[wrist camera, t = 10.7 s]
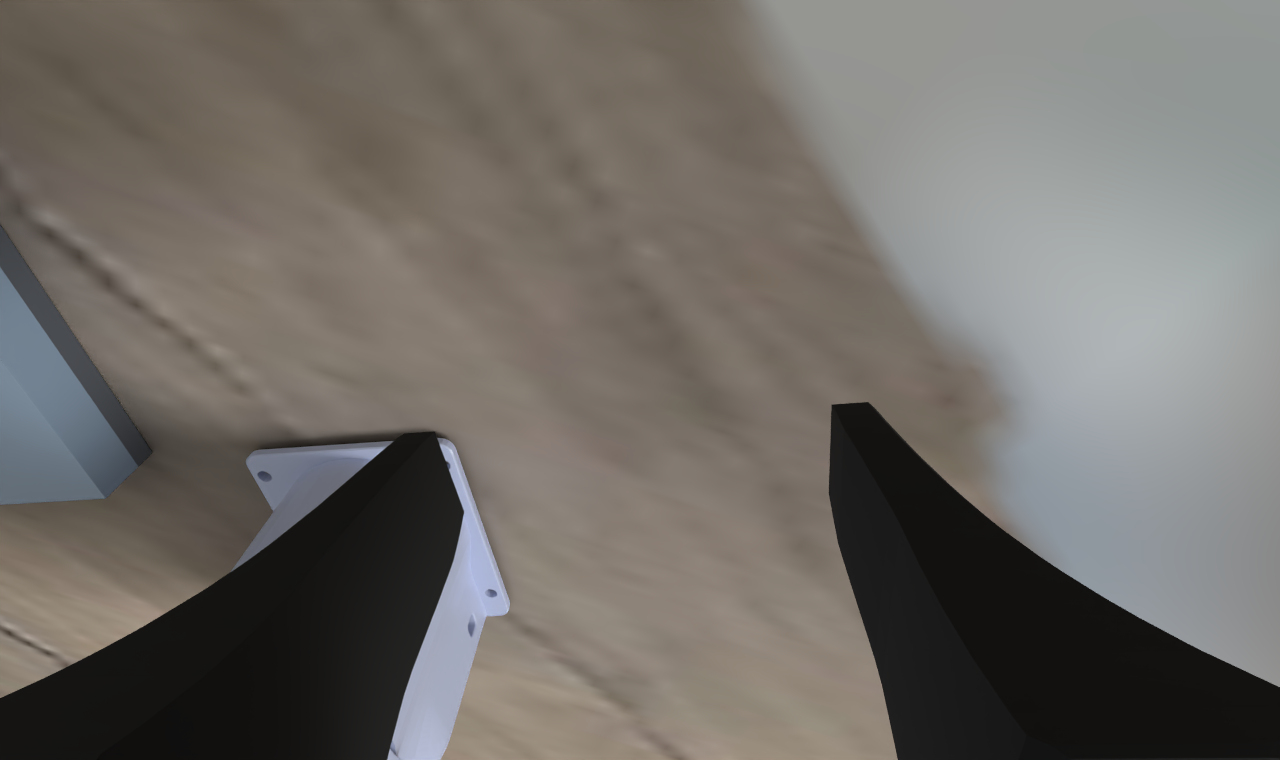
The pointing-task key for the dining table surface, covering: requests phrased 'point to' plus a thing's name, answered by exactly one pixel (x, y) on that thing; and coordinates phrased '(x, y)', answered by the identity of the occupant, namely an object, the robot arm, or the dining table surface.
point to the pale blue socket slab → (54, 402)
